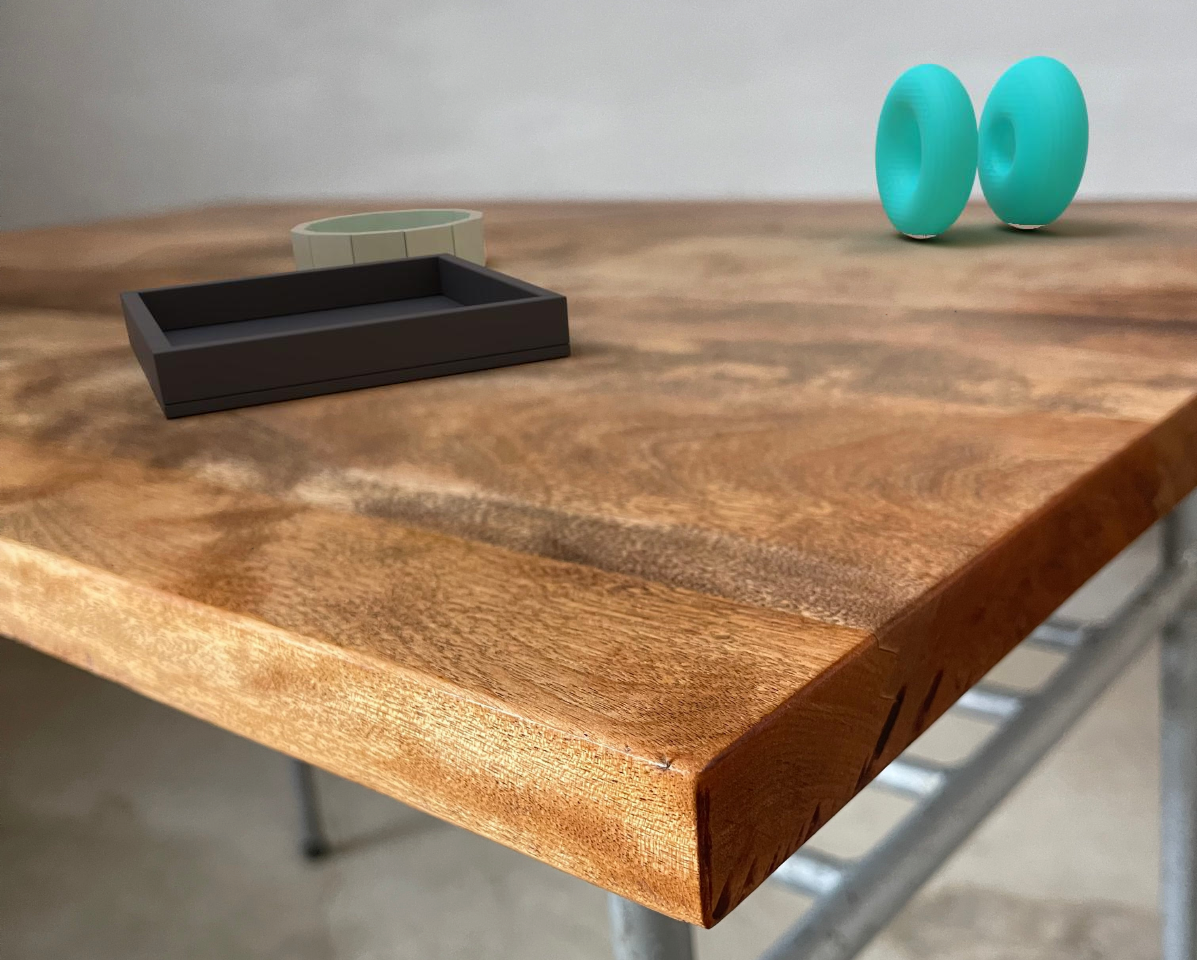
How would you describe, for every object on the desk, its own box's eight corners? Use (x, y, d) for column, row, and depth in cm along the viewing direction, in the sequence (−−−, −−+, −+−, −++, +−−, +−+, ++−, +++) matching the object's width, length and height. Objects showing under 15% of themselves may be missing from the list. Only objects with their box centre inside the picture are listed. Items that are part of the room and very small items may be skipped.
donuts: (865, 231, 81) (870, 65, 77) (1008, 219, 82) (1020, 55, 78) (930, 251, 72) (939, 64, 68) (1089, 236, 73) (1107, 53, 69)
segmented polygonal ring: (284, 292, 72) (276, 239, 71) (316, 262, 83) (310, 216, 82) (482, 278, 72) (477, 225, 71) (489, 250, 83) (485, 204, 82)
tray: (129, 343, 61) (118, 292, 60) (452, 300, 66) (447, 252, 65) (166, 419, 47) (152, 353, 46) (571, 355, 52) (567, 296, 51)
